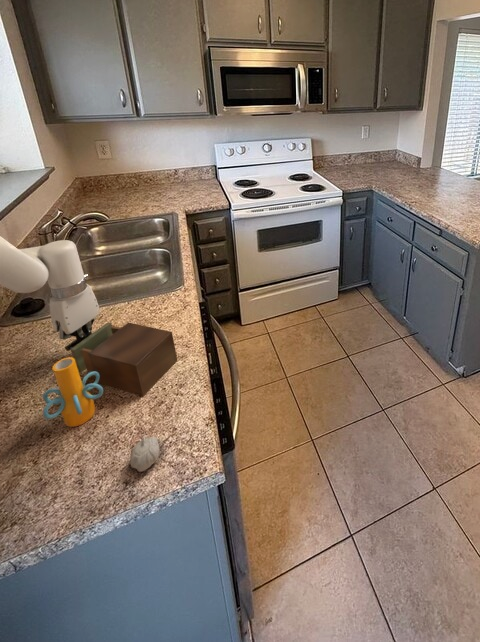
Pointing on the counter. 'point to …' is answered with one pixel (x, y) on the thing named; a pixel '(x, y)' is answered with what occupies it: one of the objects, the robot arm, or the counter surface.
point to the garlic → (144, 453)
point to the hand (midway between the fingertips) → (86, 345)
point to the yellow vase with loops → (72, 393)
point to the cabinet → (134, 358)
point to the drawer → (90, 346)
